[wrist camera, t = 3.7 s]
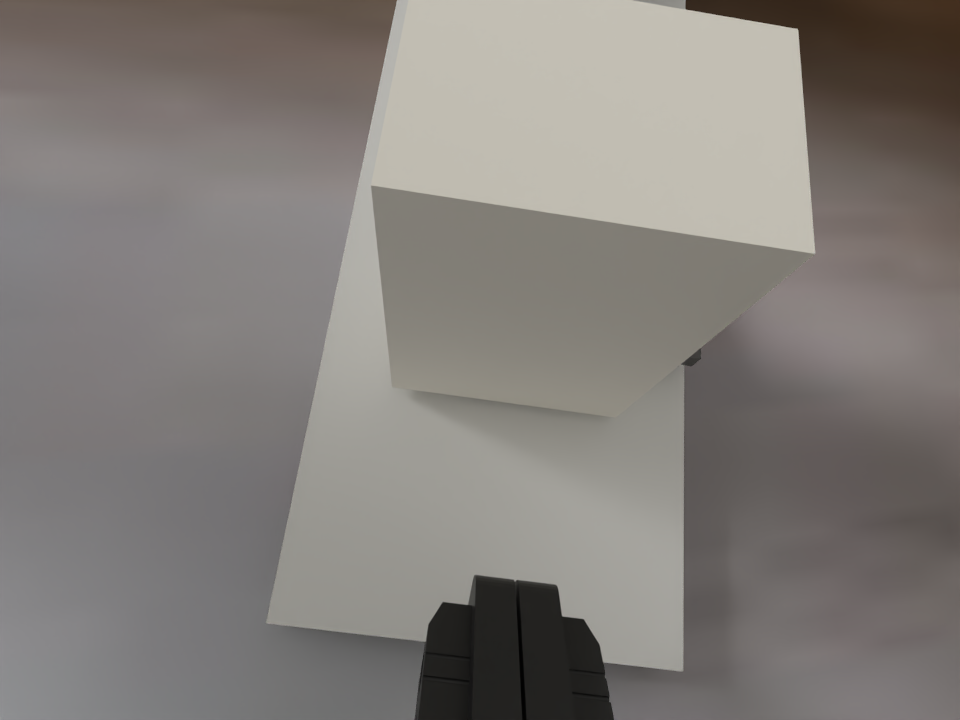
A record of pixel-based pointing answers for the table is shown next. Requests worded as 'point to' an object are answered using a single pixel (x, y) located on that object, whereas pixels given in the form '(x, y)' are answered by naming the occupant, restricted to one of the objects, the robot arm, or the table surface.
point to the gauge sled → (582, 194)
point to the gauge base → (474, 486)
